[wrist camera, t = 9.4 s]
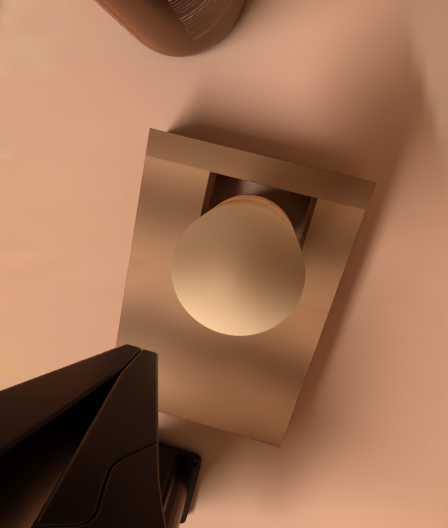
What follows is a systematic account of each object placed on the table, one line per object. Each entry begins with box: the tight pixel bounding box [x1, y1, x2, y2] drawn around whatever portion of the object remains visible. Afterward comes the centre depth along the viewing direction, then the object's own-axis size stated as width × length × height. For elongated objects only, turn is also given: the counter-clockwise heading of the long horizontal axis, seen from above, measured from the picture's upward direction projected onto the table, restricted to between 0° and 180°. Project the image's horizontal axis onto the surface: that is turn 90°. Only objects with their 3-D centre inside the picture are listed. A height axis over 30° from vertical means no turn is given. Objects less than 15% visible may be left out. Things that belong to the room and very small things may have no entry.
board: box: [116, 128, 375, 447], centre depth 20 cm, size 16×11×2 cm
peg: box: [171, 195, 305, 336], centre depth 15 cm, size 4×4×9 cm
